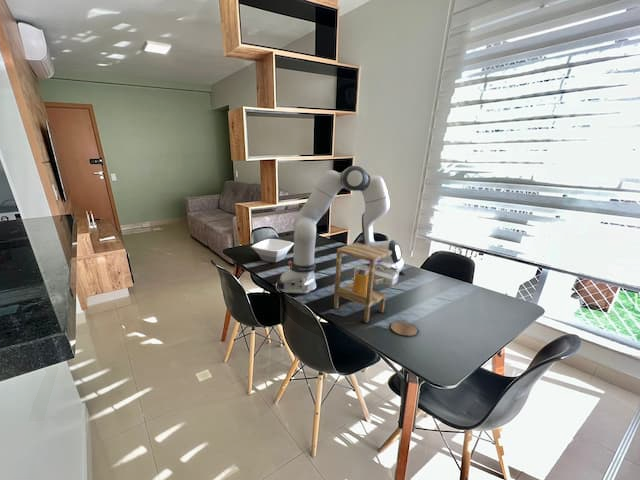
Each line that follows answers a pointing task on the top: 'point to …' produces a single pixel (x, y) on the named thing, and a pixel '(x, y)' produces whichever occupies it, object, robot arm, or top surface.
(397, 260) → the robot arm
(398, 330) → the coaster
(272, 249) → the bowl
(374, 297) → the rack
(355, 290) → the cup
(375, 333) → the top surface
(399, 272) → the spatula
